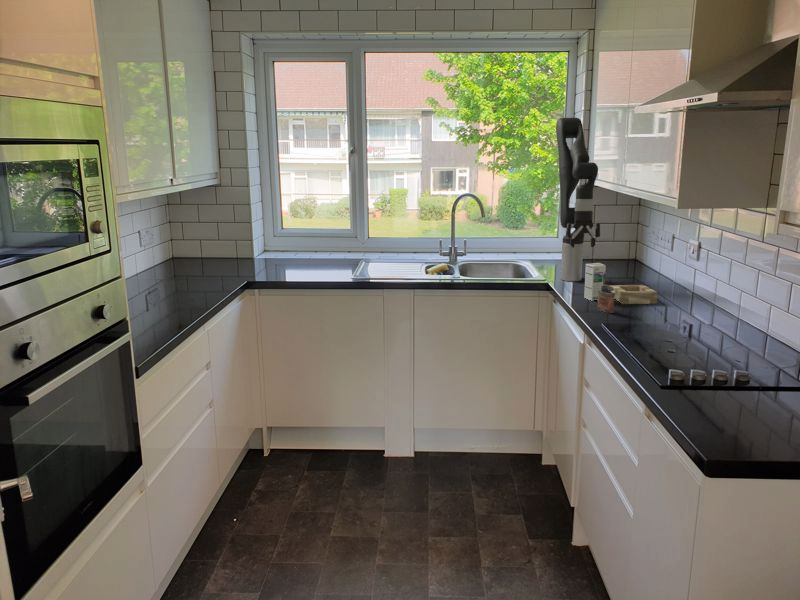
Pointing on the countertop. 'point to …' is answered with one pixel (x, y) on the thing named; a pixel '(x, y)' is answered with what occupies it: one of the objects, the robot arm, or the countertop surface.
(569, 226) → the robot arm
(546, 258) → the countertop surface
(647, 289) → the collar
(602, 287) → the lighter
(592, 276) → the syrup box
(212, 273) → the countertop surface
